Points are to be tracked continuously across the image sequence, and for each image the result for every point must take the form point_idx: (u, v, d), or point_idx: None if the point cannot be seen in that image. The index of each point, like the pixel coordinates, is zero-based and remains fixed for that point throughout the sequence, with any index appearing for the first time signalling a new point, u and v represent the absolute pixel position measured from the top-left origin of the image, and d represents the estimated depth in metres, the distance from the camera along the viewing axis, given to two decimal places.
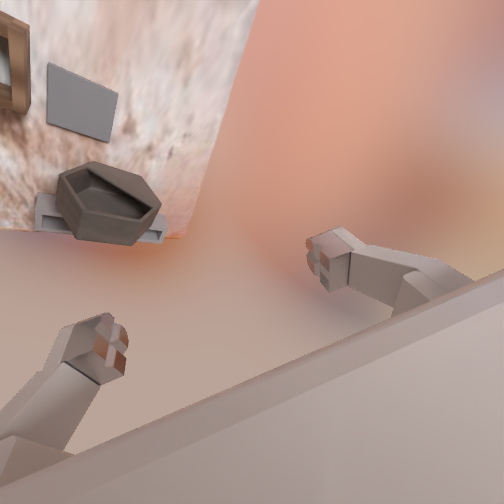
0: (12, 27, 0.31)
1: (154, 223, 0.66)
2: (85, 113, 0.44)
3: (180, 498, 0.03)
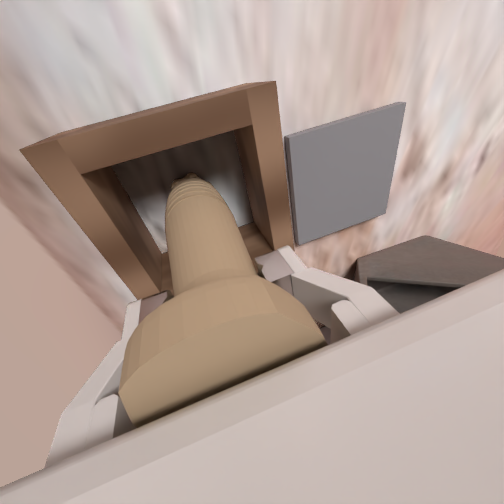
0: (251, 86, 0.11)
1: None
2: (349, 188, 0.21)
3: (180, 499, 0.03)
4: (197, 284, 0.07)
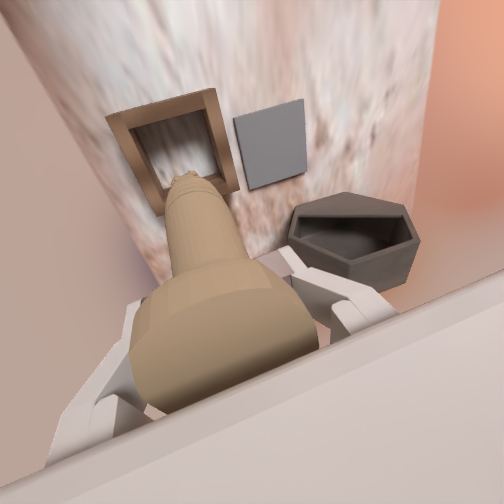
0: (204, 90, 0.24)
1: None
2: (278, 152, 0.34)
3: (180, 499, 0.03)
4: None
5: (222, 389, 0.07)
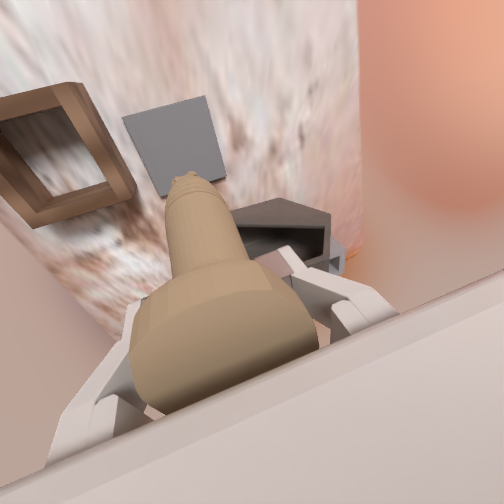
0: (56, 84, 0.21)
1: None
2: (186, 155, 0.31)
3: (180, 499, 0.03)
4: None
5: (222, 390, 0.07)
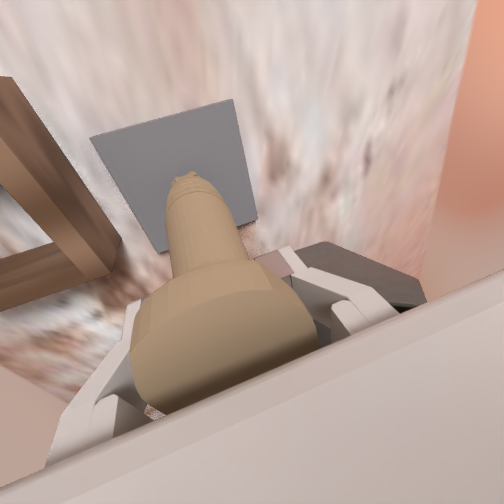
0: None
1: None
2: None
3: (179, 499, 0.03)
4: None
5: (222, 390, 0.07)
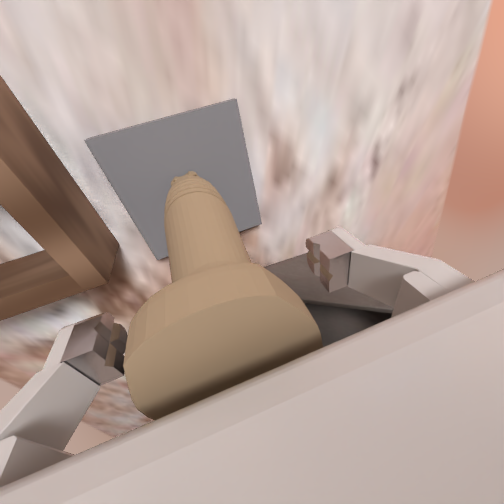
0: None
1: None
2: None
3: (180, 499, 0.03)
4: None
5: None
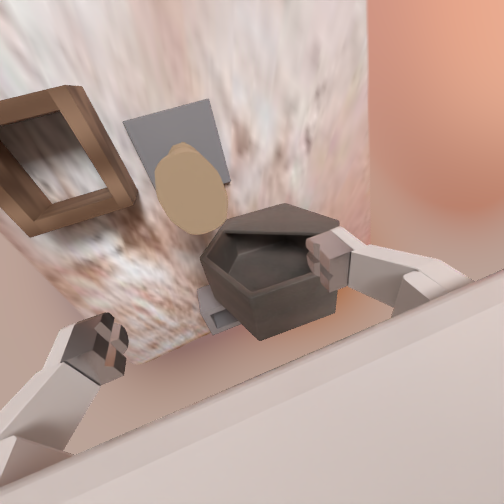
0: (53, 88, 0.20)
1: None
2: None
3: (180, 499, 0.03)
4: None
5: (187, 206, 0.17)
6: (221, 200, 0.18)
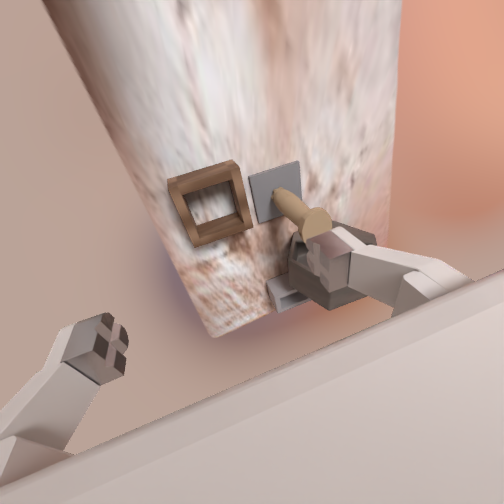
0: (232, 168, 0.36)
1: None
2: None
3: (179, 499, 0.03)
4: (305, 212, 0.35)
5: (313, 234, 0.34)
6: None
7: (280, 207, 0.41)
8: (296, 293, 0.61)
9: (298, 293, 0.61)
